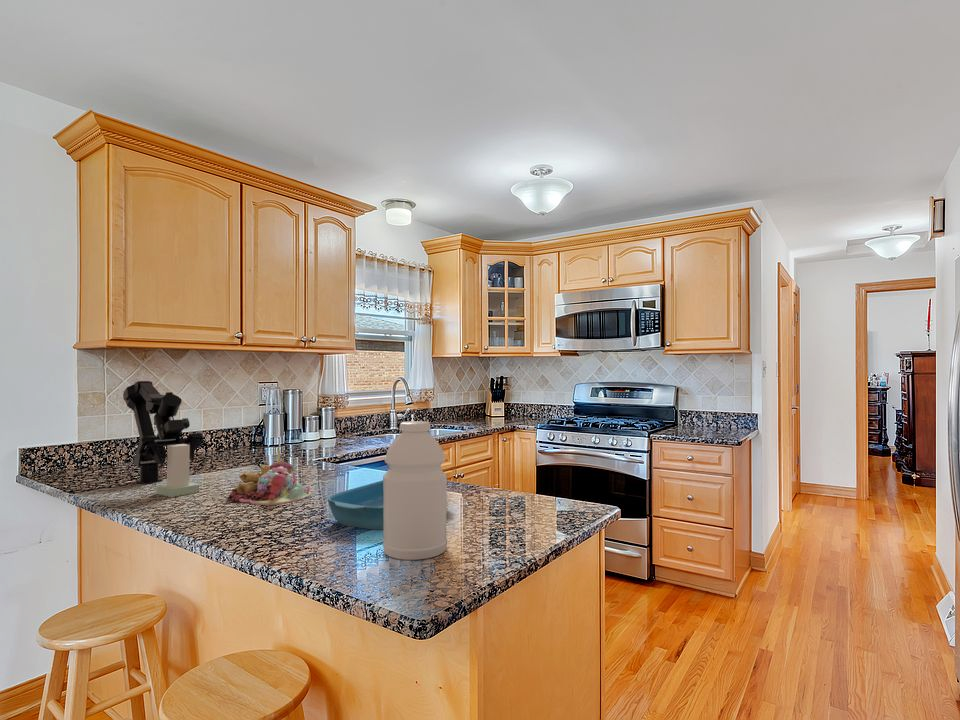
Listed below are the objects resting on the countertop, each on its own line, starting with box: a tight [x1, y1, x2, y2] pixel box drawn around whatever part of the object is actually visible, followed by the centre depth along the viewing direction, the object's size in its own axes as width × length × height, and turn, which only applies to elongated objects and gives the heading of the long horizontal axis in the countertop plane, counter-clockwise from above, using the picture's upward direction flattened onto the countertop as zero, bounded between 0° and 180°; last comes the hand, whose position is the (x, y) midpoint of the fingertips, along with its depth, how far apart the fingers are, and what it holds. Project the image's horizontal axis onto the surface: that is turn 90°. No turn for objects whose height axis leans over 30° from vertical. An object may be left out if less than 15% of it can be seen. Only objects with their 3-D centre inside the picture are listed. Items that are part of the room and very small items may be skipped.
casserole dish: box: [327, 479, 383, 531], centre depth 149 cm, size 37×22×7 cm, turn 152°
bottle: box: [382, 420, 448, 561], centre depth 119 cm, size 14×14×28 cm
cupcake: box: [269, 448, 294, 475], centre depth 195 cm, size 9×8×12 cm
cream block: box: [166, 444, 190, 488], centre depth 177 cm, size 5×5×13 cm
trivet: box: [156, 481, 200, 498], centre depth 176 cm, size 9×9×2 cm
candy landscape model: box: [227, 464, 312, 506], centre depth 173 cm, size 25×24×9 cm
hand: (177, 462), depth 177 cm, fingers open, 9 cm apart
